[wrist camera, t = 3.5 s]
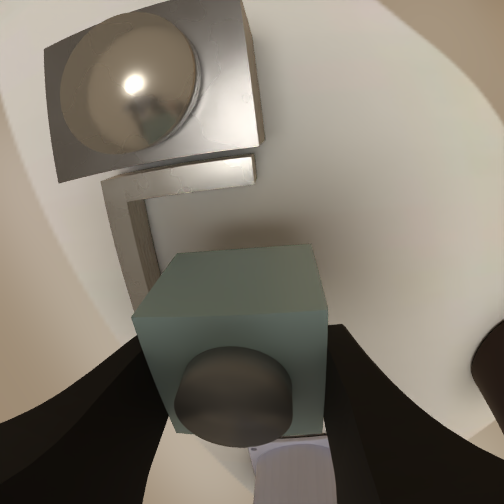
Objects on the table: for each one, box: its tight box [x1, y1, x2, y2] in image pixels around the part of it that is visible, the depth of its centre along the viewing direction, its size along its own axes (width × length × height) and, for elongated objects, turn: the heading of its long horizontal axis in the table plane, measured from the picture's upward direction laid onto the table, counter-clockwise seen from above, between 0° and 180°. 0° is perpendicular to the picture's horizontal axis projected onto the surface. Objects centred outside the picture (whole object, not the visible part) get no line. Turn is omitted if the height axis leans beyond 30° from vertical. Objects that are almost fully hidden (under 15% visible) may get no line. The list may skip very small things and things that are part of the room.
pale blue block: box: [131, 244, 328, 448], centre depth 9 cm, size 4×4×5 cm
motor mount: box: [44, 0, 265, 312], centre depth 13 cm, size 16×8×7 cm, turn 7°
